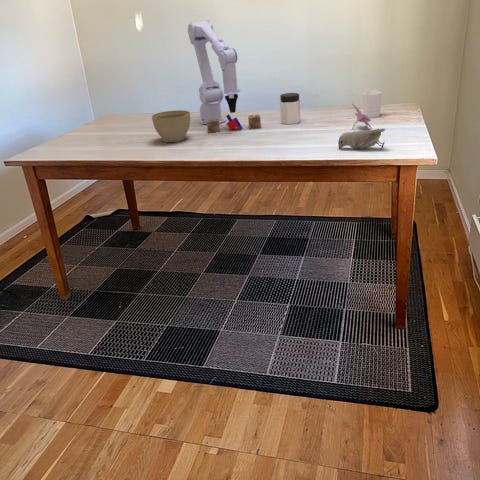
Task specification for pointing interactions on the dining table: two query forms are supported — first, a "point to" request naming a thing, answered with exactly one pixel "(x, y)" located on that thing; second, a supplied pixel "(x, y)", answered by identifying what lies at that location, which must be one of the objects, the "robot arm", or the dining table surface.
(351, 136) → the decorative bird
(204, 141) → the dining table surface
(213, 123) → the walnut cube seven
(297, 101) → the jar
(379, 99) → the white cup
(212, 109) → the robot arm
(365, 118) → the lily
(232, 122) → the toy building block
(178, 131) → the planter bowl
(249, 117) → the walnut cube one
